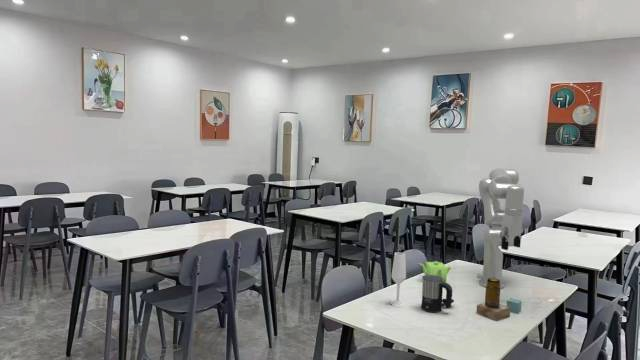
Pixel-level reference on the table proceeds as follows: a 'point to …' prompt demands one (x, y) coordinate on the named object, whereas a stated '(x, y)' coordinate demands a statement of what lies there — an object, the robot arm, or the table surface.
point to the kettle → (436, 269)
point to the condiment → (493, 294)
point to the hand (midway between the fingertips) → (510, 248)
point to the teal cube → (514, 305)
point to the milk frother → (435, 294)
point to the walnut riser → (493, 312)
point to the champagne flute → (398, 274)
